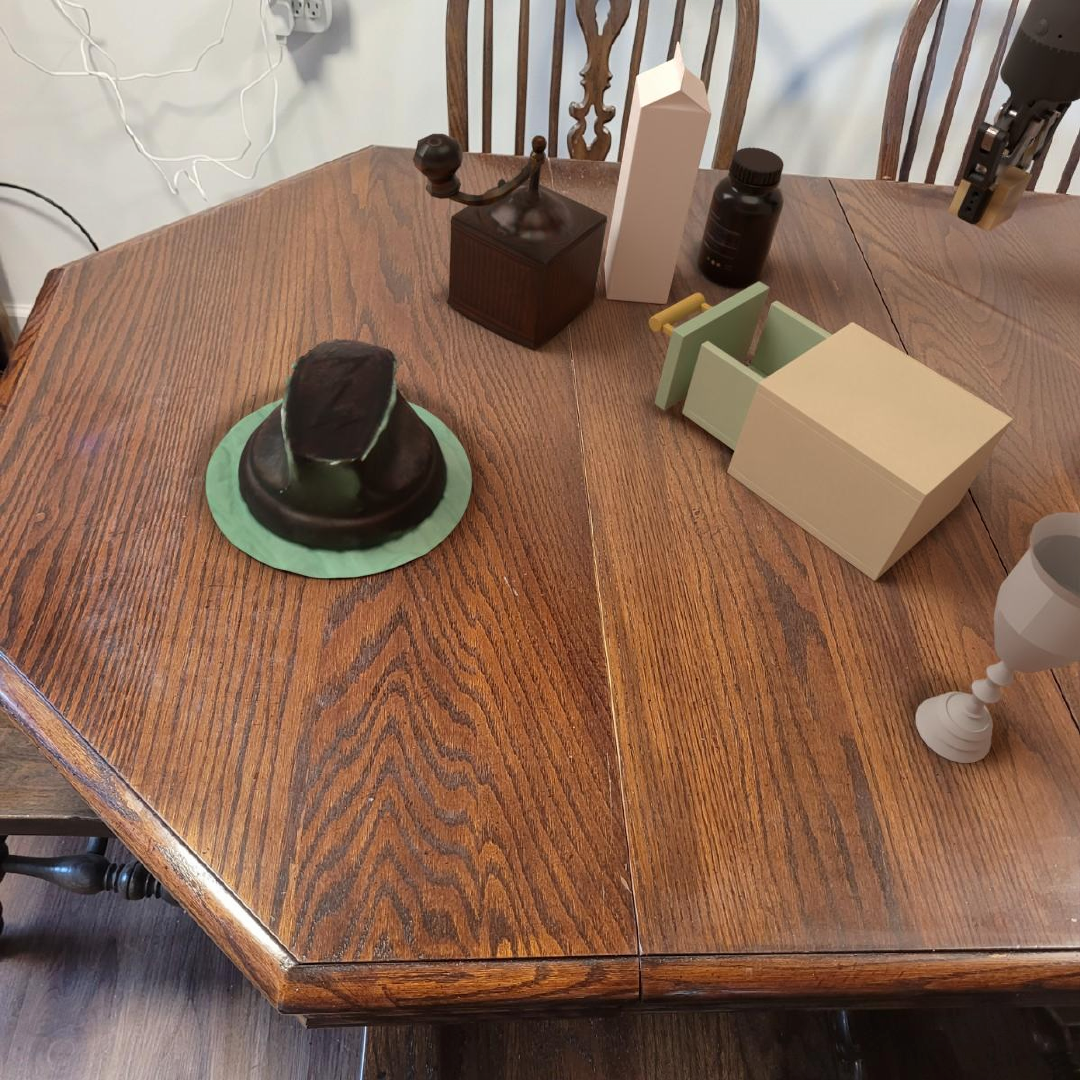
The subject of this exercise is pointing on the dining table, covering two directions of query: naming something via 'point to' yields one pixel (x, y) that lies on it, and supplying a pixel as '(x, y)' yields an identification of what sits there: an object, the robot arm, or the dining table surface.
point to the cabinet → (864, 446)
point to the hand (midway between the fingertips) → (981, 211)
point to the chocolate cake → (339, 470)
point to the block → (997, 198)
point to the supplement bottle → (742, 219)
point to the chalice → (1016, 638)
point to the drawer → (727, 356)
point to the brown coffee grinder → (515, 247)
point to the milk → (656, 181)
